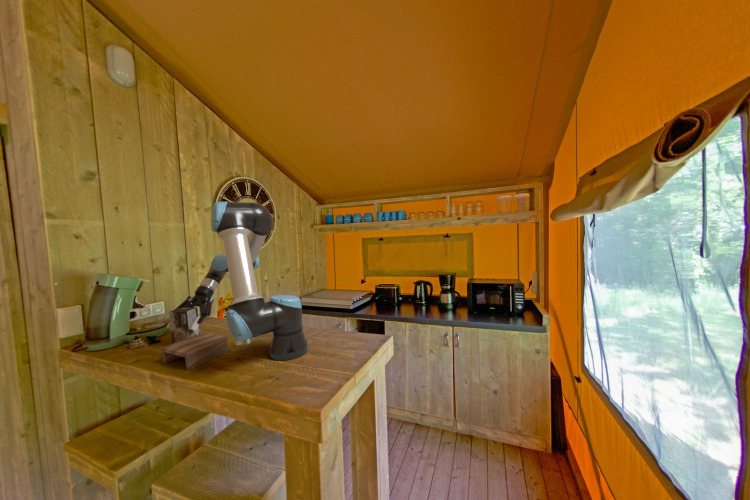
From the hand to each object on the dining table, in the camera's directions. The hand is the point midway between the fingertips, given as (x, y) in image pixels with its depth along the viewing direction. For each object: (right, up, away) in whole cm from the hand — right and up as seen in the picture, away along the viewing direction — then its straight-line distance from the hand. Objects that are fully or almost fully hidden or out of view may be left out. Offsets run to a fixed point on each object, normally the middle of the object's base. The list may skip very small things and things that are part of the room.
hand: (180, 329), depth 118 cm
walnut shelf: (+15, -8, -12) cm, 21 cm away
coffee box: (+1, -7, +2) cm, 8 cm away
